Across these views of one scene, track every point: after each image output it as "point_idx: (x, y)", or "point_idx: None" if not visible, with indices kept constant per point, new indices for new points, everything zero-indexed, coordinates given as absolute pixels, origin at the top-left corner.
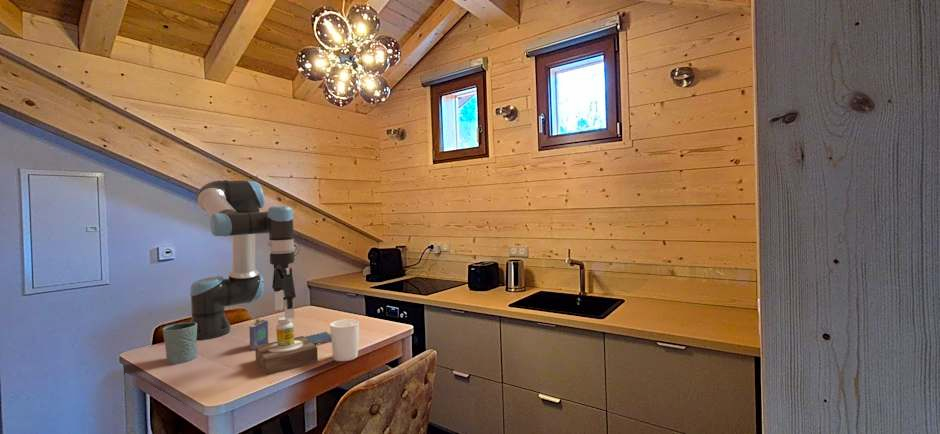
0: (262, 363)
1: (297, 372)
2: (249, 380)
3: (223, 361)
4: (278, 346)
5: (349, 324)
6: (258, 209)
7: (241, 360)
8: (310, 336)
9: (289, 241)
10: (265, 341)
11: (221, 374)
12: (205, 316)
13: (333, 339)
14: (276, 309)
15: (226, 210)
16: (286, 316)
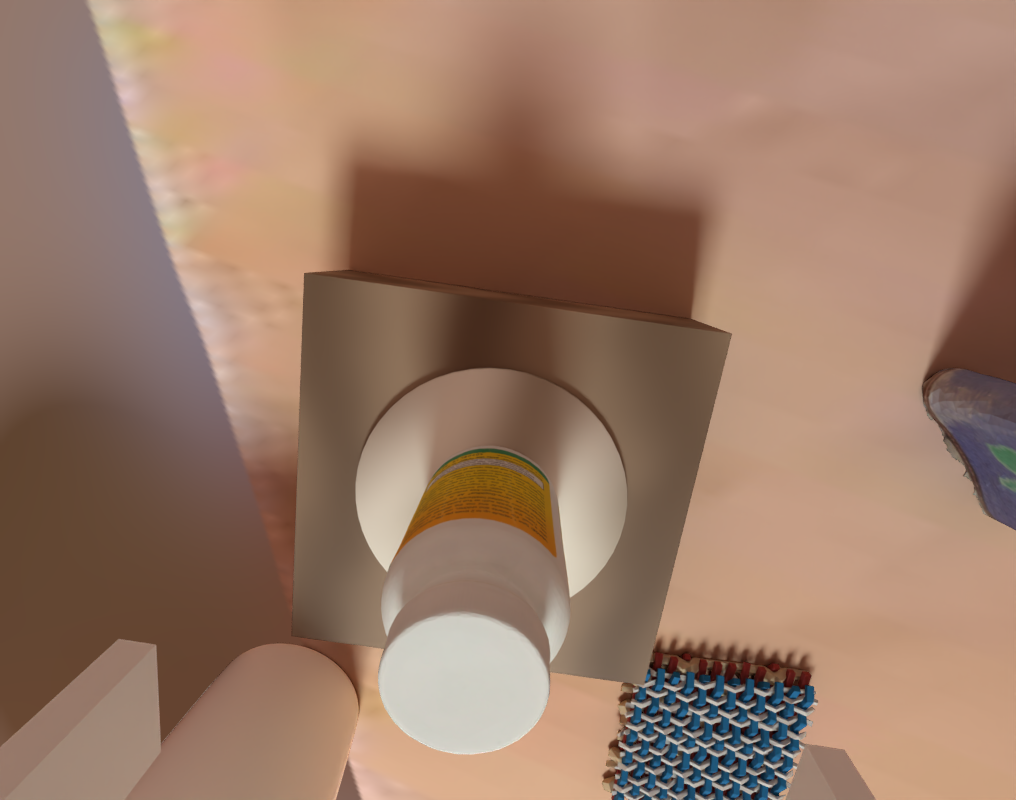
0: (451, 288)
1: (250, 423)
2: (336, 152)
3: (893, 130)
4: (480, 447)
5: None
6: None
7: (785, 242)
8: (778, 734)
9: None
10: (993, 500)
11: (613, 31)
12: None
13: (193, 754)
14: (806, 771)
15: None
16: (82, 684)
